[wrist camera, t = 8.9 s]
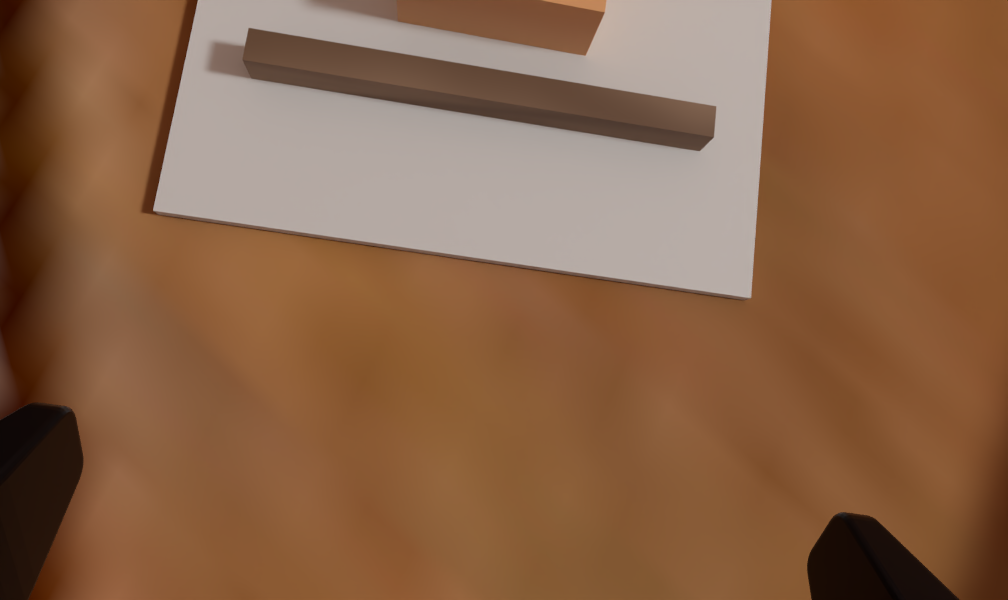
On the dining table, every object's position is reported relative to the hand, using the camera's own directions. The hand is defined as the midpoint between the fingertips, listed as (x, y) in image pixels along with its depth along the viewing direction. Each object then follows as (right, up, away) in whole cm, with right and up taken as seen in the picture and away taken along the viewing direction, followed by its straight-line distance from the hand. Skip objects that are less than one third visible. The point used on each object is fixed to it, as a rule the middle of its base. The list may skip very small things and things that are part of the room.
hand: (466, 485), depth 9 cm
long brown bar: (0, +8, +15) cm, 17 cm away
